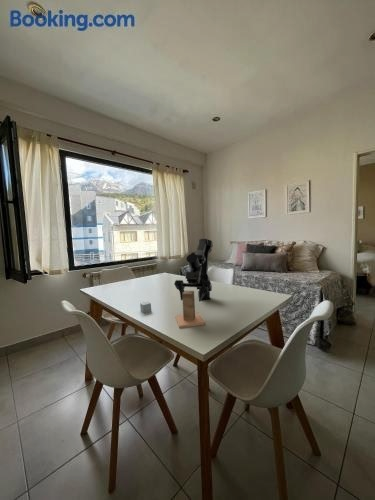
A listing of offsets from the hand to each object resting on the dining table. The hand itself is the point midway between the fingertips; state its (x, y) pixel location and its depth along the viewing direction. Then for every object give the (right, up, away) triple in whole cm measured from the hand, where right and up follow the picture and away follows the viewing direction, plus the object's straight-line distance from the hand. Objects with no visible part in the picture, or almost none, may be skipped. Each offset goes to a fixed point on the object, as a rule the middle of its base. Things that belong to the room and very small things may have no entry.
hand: (190, 300), depth 100 cm
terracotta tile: (0, -9, -2) cm, 9 cm away
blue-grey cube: (-24, -9, +13) cm, 29 cm away
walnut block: (0, -8, -2) cm, 8 cm away
